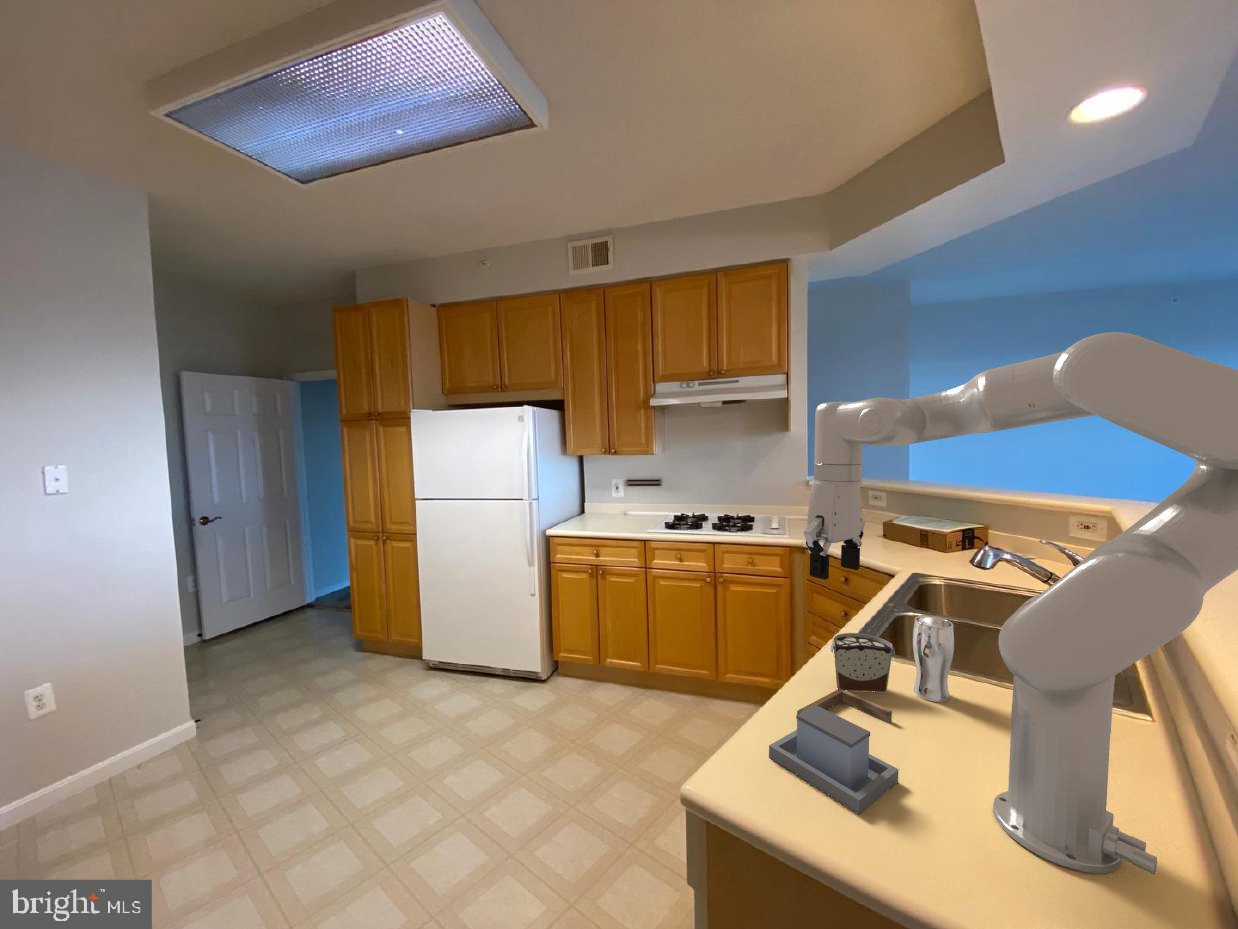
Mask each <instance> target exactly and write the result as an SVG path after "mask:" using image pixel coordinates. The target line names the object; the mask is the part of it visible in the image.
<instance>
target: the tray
mask: <svg viewBox="0 0 1238 929" xmlns="http://www.w3.org/2000/svg"><path fill="white" fill-rule="evenodd" d="M768 759H771V760H772V761H774V762H775V763H777V764H779V766H782V767H783V768H785V769H787V770H788V771H790V772H791V773H793V774H795V775H796V776H798V777H799V778H801V779H802V780H804V781H806V782H807V783H808V784H810V785H811V786H813V787H815V788H817V789H818V790H820V791H821V792H823V793H824V794H826V795H828V796H830V798H832V799H834V800H835V801H837V802H838V803H840V804H842V805H843V806H845V807H846V808H848V809H850V810H851V811H853V812H854V813H856V814H857V815H860V814H861V813H862V812H864V811H865V810H866V809H868V808H869V807H870V806H871V805H872V804H874V803H875V802H876V801H877V800H878V799H879V798H881V797H882V796H883V795H884V794H885V793H886V792H888V791H889V790H891V788H893V787H894V786H895V785H897V783H899V768H897V767H895V766H893V765H891V764H889V763H887V762H886V761H883V760H882V759H881V758H878V757H876V756H874V755H872V754H870V753H869V768H868V777H867V778H866V779H864V780H863V781H862V782H860V783H859V784H857V785H856V786H855V787H853V788H852V789H851V790H850V789H848V788H847V787H845V786H843V785H842V784H840V783H838V782H837V781H835V780H833V779H832V778H830V777H828V776H827V775H825V774H823V773H822V772H820V771H818V770H817V769H815V768H813V767H812V766H810V765H808V764H807V763H805V762H804V761H802V760H800V759H799V758H797V729H795V730H794V731H792V732H790V733H788V734H787V735H784V736H783V737H781V738H779V739H778V740H776V741H774V742H773V743H771V744H769V745H768Z"/></svg>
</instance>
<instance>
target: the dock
mask: <svg viewBox="0 0 1238 929" xmlns="http://www.w3.org/2000/svg"><path fill="white" fill-rule="evenodd" d="M838 703H839V704H841V703H843V704H846V705H848V706H850V705H851V707H852V708H855V709H858V710H859V711H861V712H863V711H864V712H863V713H865V714H868V715H870V716H872V717H874V718H876V719H879V720H881V721H883V722H885V723H888V724H890V723H892V719H893V718H892V717H893V716H892V715H893V711H892V710H891V709H889V708H886V707H885V706H882V705H880V704H877V703H875V702H874V701H871V700H869V699H866V698H864V697H861V696H859V695H857V694H854V693H852V692H851V691H846V690H843V689H841V688H839V689H836V690H834V691H832V692H830V693H828V694H826V695H825V696H822V697H821V698H819V699H817V700H815V701H813V702H811V703H809V704H807V705H806V706H804V707H802V708H800V709H798V710H796V715H798V714H800V713H801V712H803V711H805V710H807V709H809V708H811V707H813V706H815V705H817V706H819V707H821V708H823V709H825V710H827V711H829V710H830V709H831V708H833V707H835V706H837V705H839V704H838ZM834 705H835V706H834ZM832 706H833V707H832ZM829 708H830V709H829Z"/></svg>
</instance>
